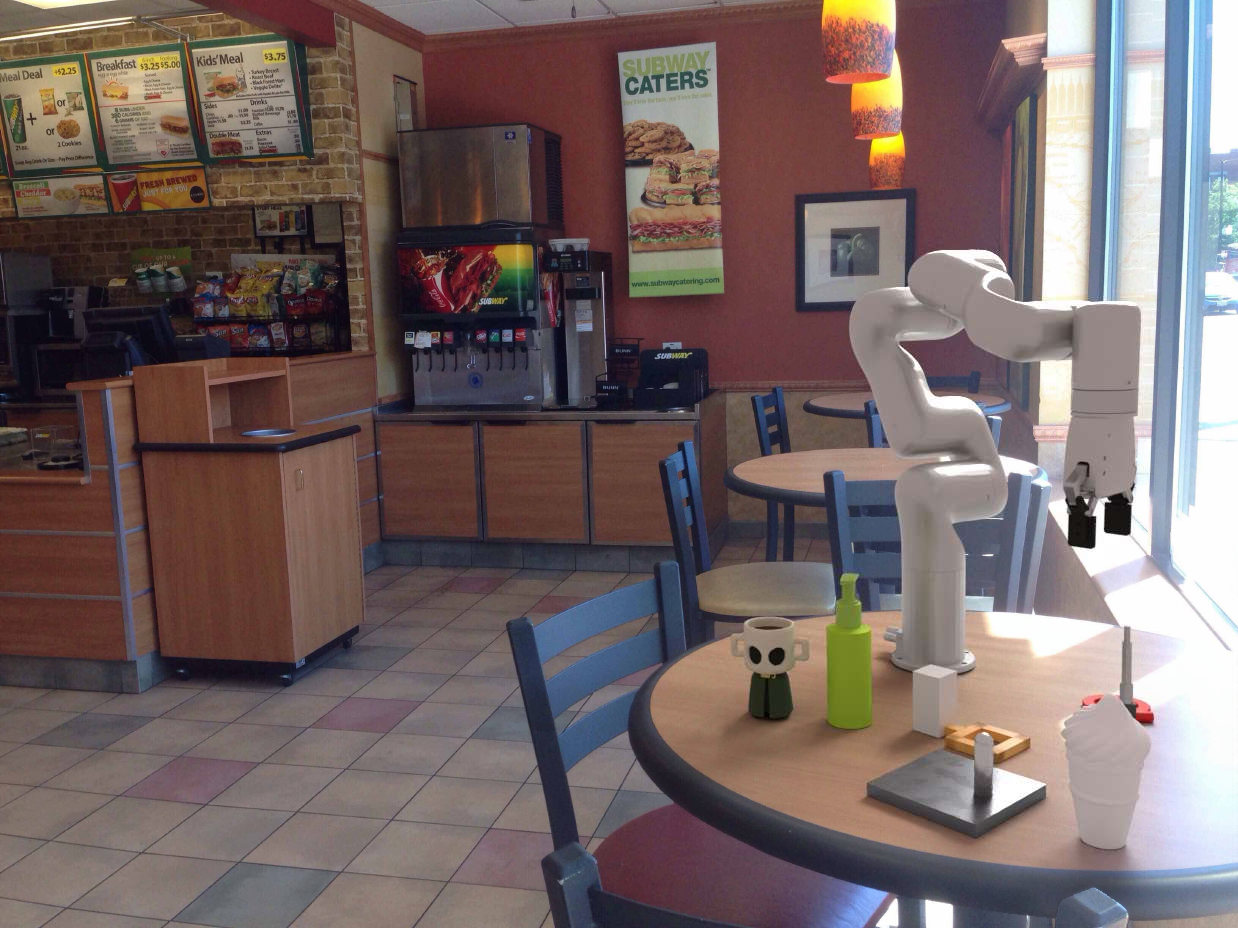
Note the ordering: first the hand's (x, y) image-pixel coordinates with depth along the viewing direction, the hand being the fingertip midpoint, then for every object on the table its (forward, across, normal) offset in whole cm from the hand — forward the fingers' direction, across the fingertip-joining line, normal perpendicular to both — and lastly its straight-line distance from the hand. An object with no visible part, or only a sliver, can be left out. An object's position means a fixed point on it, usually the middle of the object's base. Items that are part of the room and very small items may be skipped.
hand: (1099, 540), depth 132 cm
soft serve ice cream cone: (+26, +26, +13) cm, 39 cm away
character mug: (+26, +22, -35) cm, 49 cm away
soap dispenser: (+26, +16, -26) cm, 40 cm away
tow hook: (+26, -11, -2) cm, 28 cm away
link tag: (+26, +12, -11) cm, 30 cm away
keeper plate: (+26, +27, -3) cm, 37 cm away
